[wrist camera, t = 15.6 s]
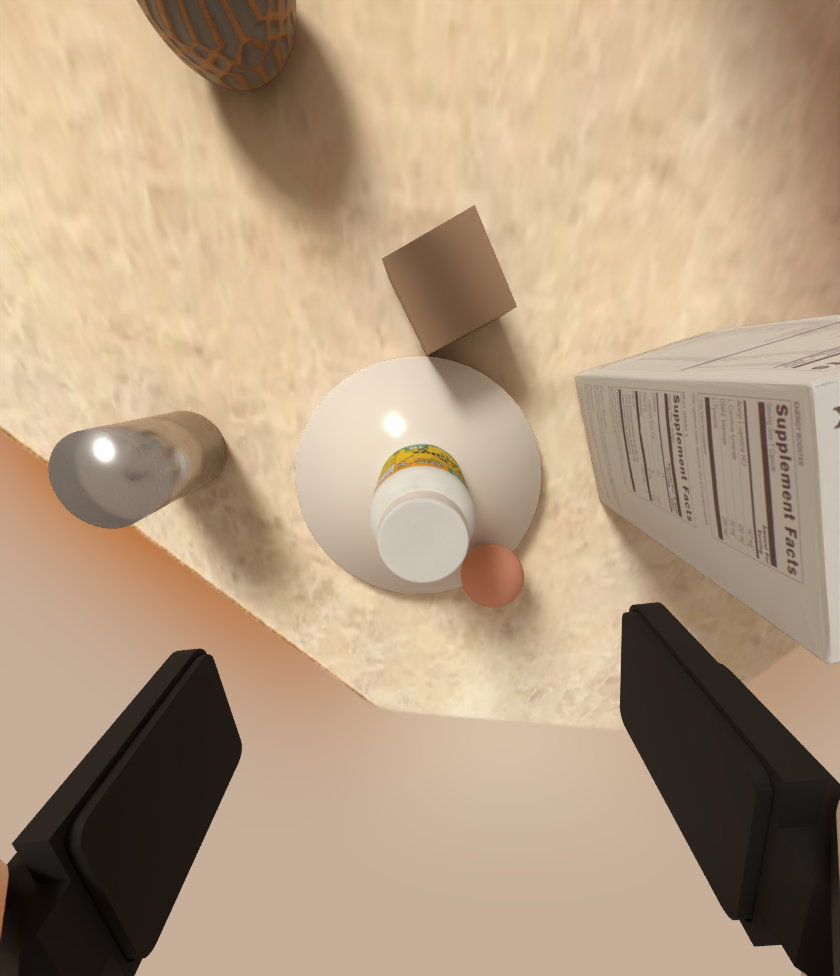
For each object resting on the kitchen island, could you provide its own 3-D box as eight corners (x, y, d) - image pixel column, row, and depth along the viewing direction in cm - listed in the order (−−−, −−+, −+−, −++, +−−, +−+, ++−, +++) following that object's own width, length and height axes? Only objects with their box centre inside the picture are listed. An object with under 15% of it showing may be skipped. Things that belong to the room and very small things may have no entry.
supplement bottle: (365, 494, 27) (336, 559, 18) (408, 425, 26) (401, 457, 17) (434, 535, 28) (440, 617, 19) (479, 469, 27) (509, 524, 18)
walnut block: (464, 236, 25) (474, 205, 20) (499, 317, 26) (516, 306, 21) (389, 279, 25) (381, 258, 20) (426, 356, 27) (428, 354, 22)
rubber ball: (514, 530, 28) (529, 556, 24) (518, 583, 29) (532, 616, 25) (455, 537, 28) (460, 564, 24) (460, 590, 29) (467, 623, 26)
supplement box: (597, 504, 29) (817, 677, 13) (569, 374, 27) (798, 385, 11) (737, 464, 28) (1159, 594, 12) (722, 325, 26) (1224, 256, 10)
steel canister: (218, 408, 27) (138, 426, 20) (233, 482, 29) (163, 525, 21) (142, 413, 27) (34, 433, 20) (161, 486, 29) (67, 531, 21)
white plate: (529, 340, 26) (535, 339, 25) (541, 571, 31) (546, 580, 29) (278, 373, 27) (270, 374, 25) (325, 595, 31) (320, 605, 30)
